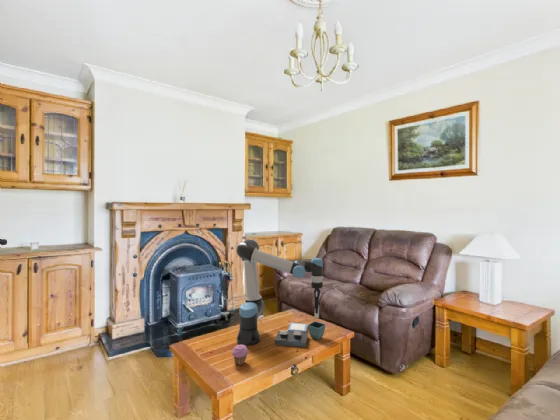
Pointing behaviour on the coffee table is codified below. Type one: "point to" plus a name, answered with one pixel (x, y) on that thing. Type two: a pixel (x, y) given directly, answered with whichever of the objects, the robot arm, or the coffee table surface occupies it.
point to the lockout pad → (298, 327)
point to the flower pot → (316, 330)
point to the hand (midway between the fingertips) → (316, 315)
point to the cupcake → (240, 354)
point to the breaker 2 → (297, 333)
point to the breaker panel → (291, 339)
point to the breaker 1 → (284, 332)
